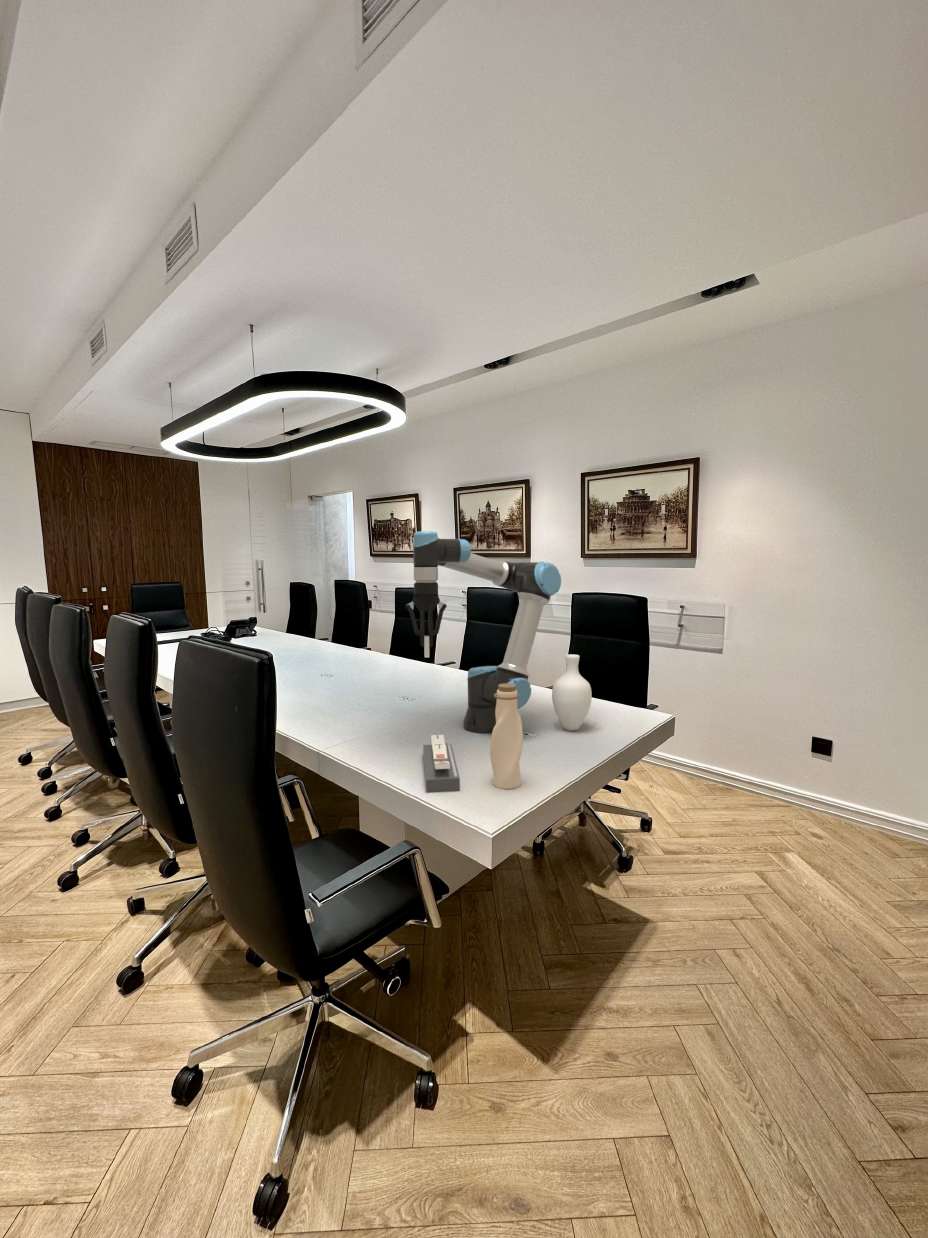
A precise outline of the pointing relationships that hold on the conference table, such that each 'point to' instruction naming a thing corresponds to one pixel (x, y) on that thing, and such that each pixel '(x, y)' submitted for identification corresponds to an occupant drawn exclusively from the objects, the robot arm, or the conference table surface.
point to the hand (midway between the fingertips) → (426, 656)
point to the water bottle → (506, 739)
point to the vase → (571, 695)
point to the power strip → (440, 772)
